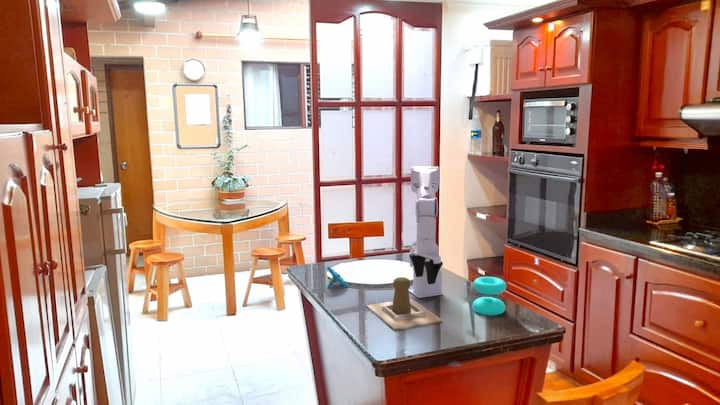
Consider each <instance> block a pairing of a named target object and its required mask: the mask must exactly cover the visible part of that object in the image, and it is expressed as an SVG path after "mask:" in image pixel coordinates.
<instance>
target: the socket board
mask: <svg viewBox="0 0 720 405" xmlns="http://www.w3.org/2000/svg"><path fill="white" fill-rule="evenodd" d="M409 299H410V307H411V313H407V314H401V315H397V314H395V313H394V312H393V311H392V307H393V300H392V301H385V302H378V303H371V304H366V308H367V309H369V310H370V311H371V312H372V313H373V314H374V315H376V317H378V319H380V320H381V321H382V322H383V323H385V324H386V325H387V326H388V327H389V328H391V329H392V330H393V331H399V330H406V329H411V328H417V327H422V326H428V325H434V324H439V323H443V322H444V321H443V319H442V318H441V317H439V316H438V315H436V314H434V312H432V311H430V310H429V309H427V308H425V306H423V305H421V304H420V303H419V302H417V301H416V300H414V299H413V298H411V297H409Z"/></svg>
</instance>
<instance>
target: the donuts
mask: <svg viewBox="0 0 720 405" xmlns="http://www.w3.org/2000/svg"><path fill="white" fill-rule="evenodd" d="M473 288H474V289H475V290H476V291H477V292H478V293H481V294H484V295H499V294H502V293H504V292H505V291H506V289H507V283H506V282H505V281H504V280H503V279H502V278H499V277H495V276H480V277H477V278H475V279H474V281H473ZM472 309H473V310H474V311H475V312H476V313H477V314H481V315H482V316H492V317H493V316H500V315H501V314H503V313H505V311H506V304H505V302H503V301H502V300H501V299H499V298H496V297H493V296H482V297H478V298H476V299H475V300H474V301H473V302H472Z"/></svg>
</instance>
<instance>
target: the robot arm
mask: <svg viewBox="0 0 720 405" xmlns="http://www.w3.org/2000/svg"><path fill="white" fill-rule="evenodd" d="M440 171H441V170H440V167H439V166H437V165H436V166H415V165H414V166H411V167H410V188H411V192H412V193H415V194H416V200H415V216H416V240H415V241H414V242H413V243H411V244H410V250H409V255H408V256H409V266H410V267H411V268H412V271H413V272H412V273H413V277H412V288H409V289H408V291H409V293H411V294H412V295H413V296H416V297H417V298H418V299H422V298H427V297H429V298H430V297H434V296H435V297H436V296H441V295H444V292H443V288H442V287H443V274H442V269H441V268H442V267H443V264H444V263H443V261H442V257H441V256H440V252H439V246H438V244H437V243H436V232H437V231H436V228H437V226H436V223H437V219H436V218H437V217H438V211H439V203H438V198H437V197H436V193H437V192H438V190H439V185H440V177H441V176H440Z"/></svg>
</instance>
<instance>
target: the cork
mask: <svg viewBox="0 0 720 405" xmlns="http://www.w3.org/2000/svg"><path fill="white" fill-rule="evenodd" d="M392 285H393V288H394V294H393V300H392V301H393V307H392V311H393V312H394V313H395V314H397V315H401V314H407V313H411V307H410V299H409V298H410V292H409V291H408V290H409V289H411V288H410V287H411V282H410V279H409V278H407V277H401V276H399V277H396V278H395V279H393V283H392Z"/></svg>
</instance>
